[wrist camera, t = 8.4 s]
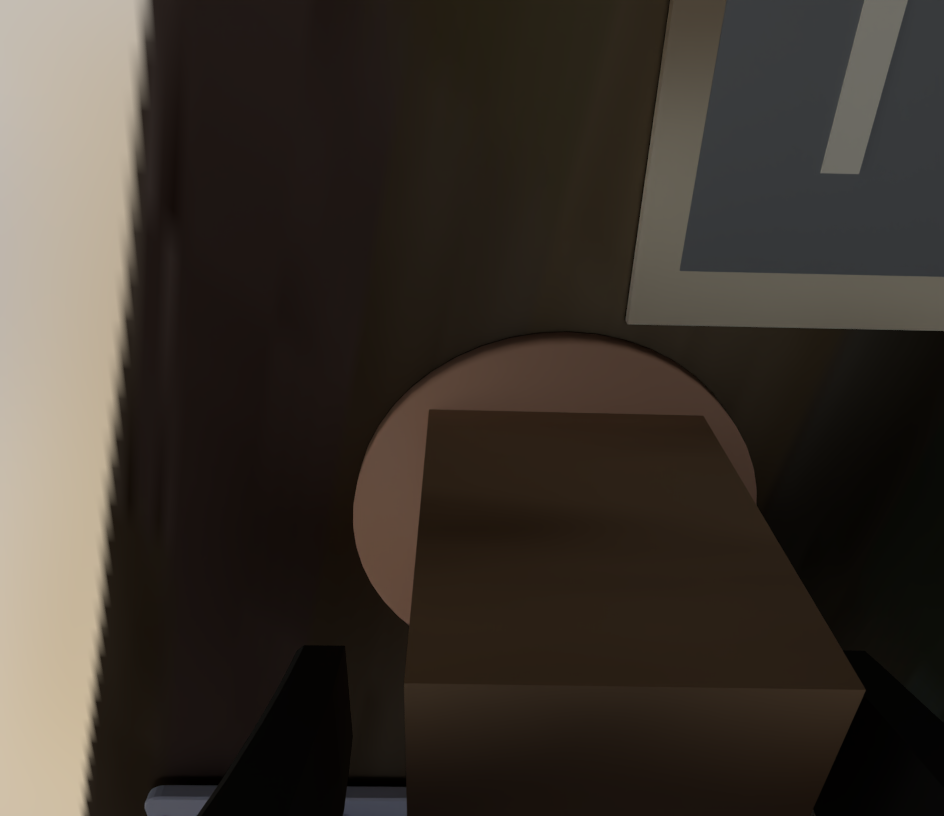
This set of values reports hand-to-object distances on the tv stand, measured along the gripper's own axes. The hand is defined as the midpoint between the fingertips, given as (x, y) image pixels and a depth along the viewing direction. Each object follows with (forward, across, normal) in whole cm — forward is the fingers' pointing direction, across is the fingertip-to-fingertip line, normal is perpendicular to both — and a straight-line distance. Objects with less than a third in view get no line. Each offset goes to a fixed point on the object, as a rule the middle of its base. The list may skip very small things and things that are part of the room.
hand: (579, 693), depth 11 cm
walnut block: (+4, 0, 0) cm, 4 cm away
